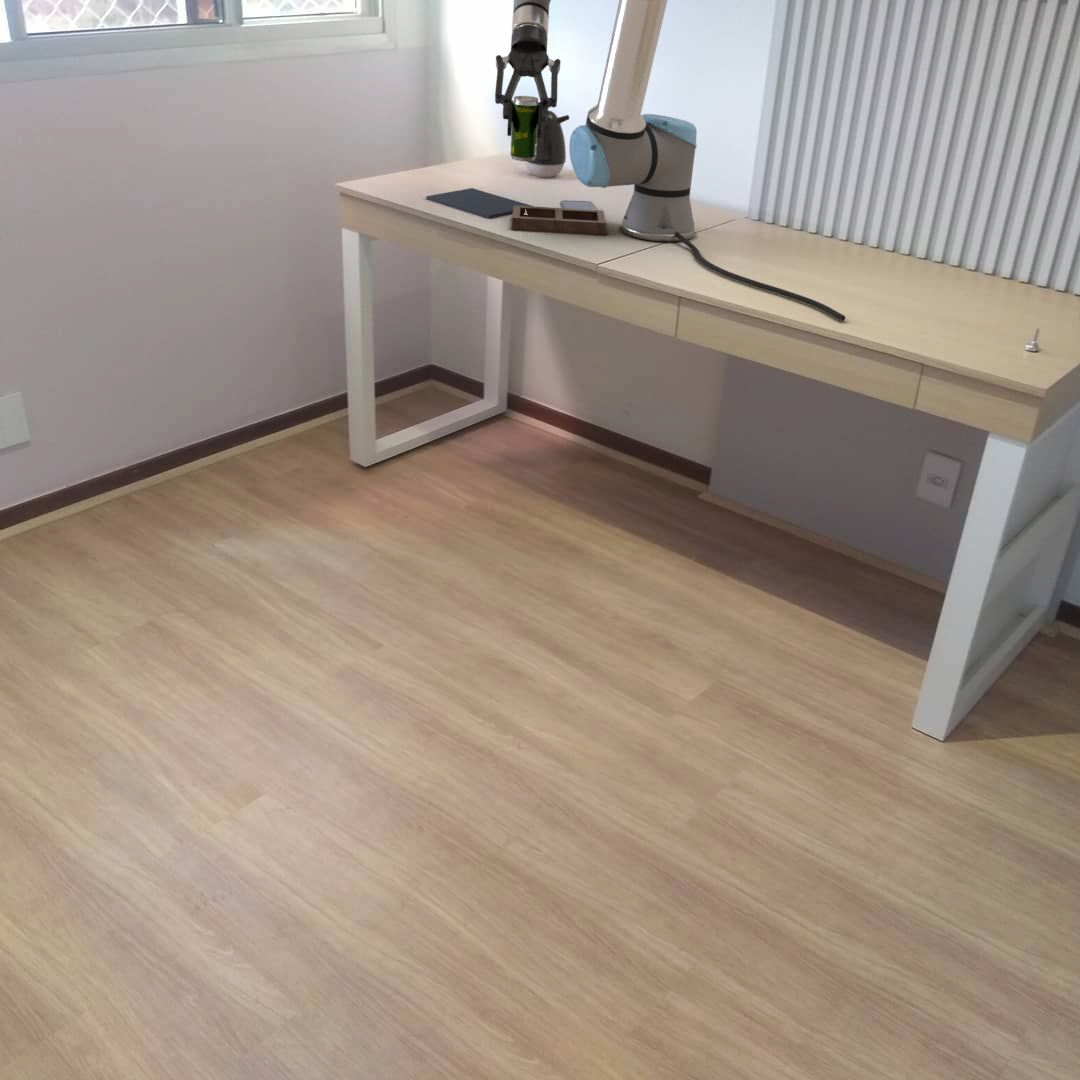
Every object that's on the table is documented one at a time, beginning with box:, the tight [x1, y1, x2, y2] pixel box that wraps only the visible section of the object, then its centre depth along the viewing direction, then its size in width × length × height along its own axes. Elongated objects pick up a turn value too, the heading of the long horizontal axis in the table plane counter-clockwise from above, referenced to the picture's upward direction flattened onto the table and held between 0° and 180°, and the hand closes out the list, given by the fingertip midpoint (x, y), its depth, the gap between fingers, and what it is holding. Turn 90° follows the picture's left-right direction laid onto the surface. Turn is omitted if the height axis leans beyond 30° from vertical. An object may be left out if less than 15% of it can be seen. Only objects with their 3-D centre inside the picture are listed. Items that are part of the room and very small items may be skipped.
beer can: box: [510, 95, 539, 162], centre depth 239 cm, size 5×5×12 cm
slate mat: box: [425, 187, 535, 219], centre depth 257 cm, size 20×14×1 cm
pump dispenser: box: [525, 109, 570, 179], centre depth 281 cm, size 10×10×15 cm
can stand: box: [511, 205, 607, 236], centre depth 244 cm, size 19×10×2 cm, turn 90°
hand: (524, 132), depth 236 cm, fingers closed on beer can, 5 cm apart
